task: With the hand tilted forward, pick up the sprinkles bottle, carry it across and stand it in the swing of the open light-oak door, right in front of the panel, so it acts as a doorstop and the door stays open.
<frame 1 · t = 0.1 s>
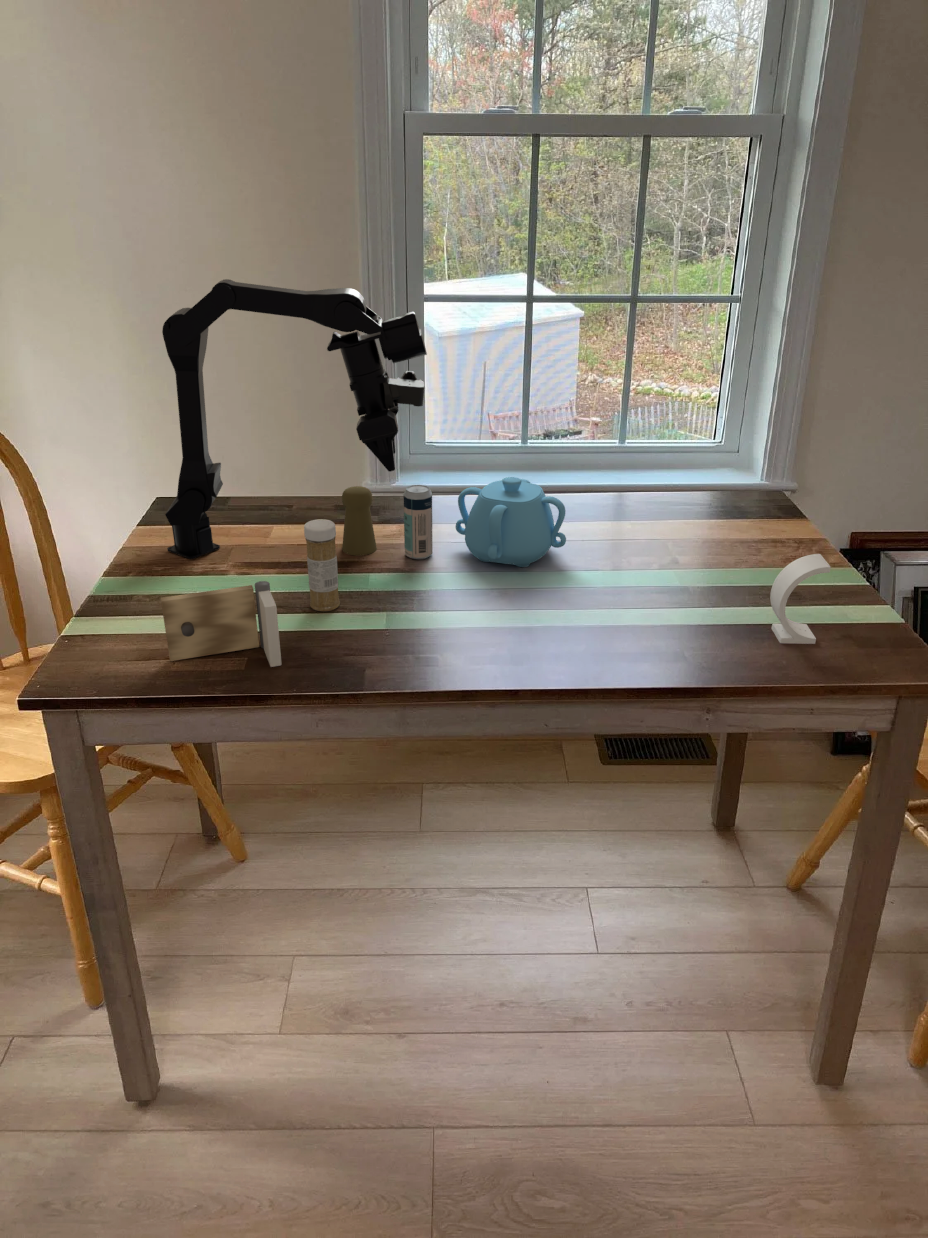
hand: (392, 462, 158), 15 cm above the table, tool pointing down, fingers open, 9 cm apart
door: (211, 624, 128), point 5 cm above the table, hinge at 90.0°
beer can: (418, 556, 162), on the table
door frame: (268, 645, 133), on the table
sprinkles bottle: (324, 607, 144), on the table
decorative pot: (509, 555, 163), on the table
headphone stand: (789, 637, 137), on the table
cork: (359, 549, 164), on the table
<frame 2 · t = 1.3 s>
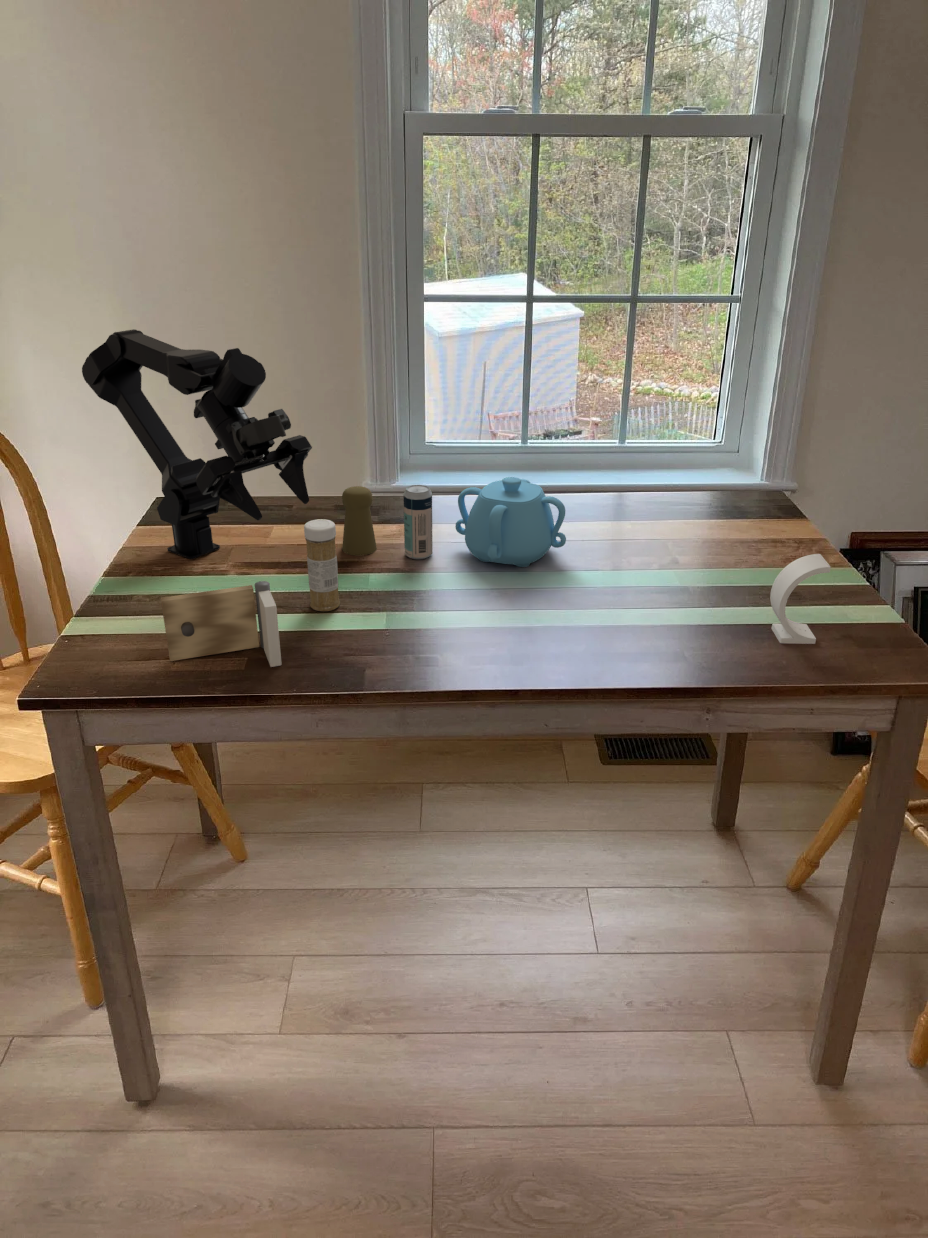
hand: (284, 510, 143), 13 cm above the table, tool tilted 45°, fingers open, 9 cm apart
nothing on the table moved.
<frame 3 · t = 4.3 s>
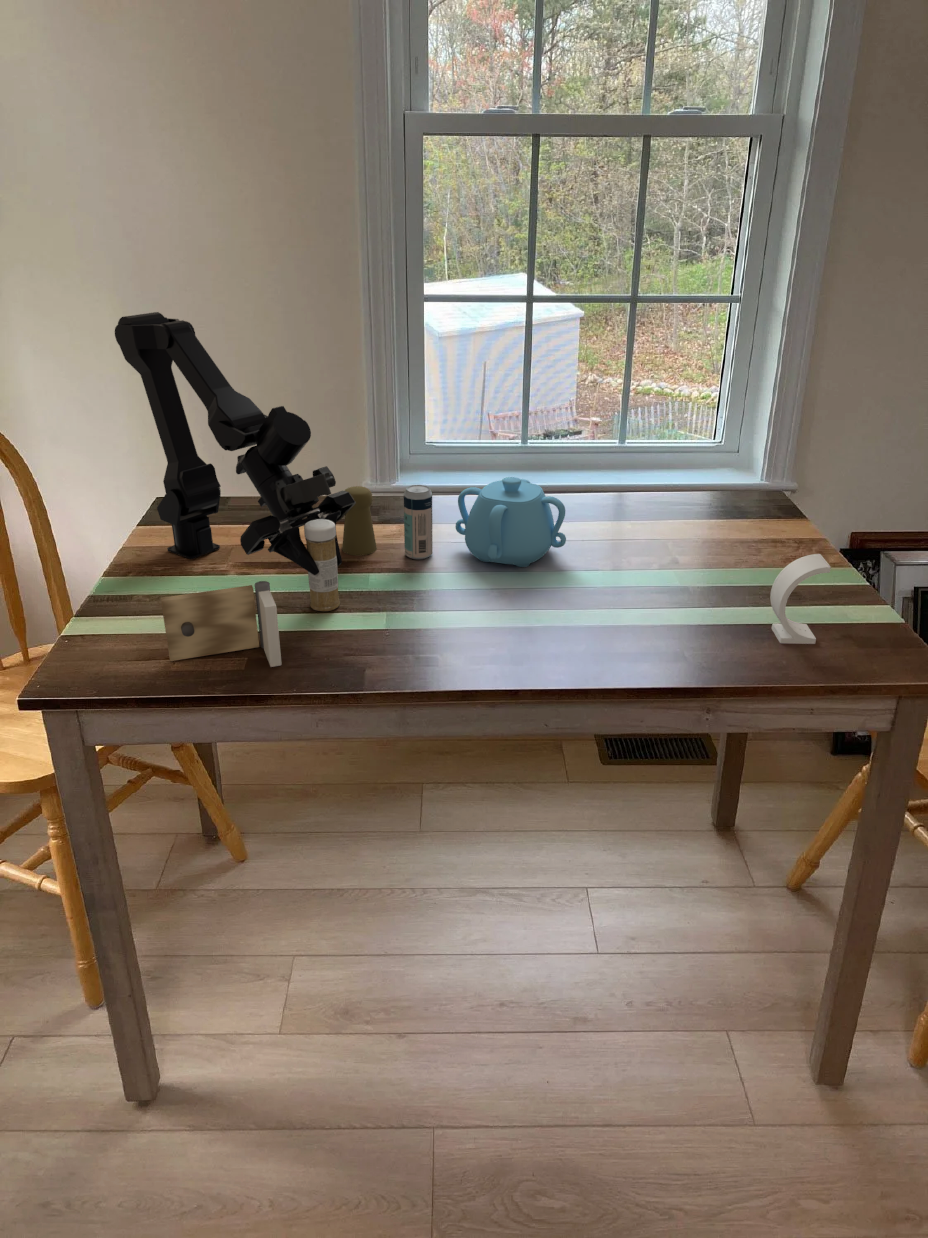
hand: (328, 569, 140), 7 cm above the table, tool tilted 45°, fingers closed on sprinkles bottle, 4 cm apart
sprinkles bottle: (324, 607, 144), on the table, touching gripper
everything else where it was.
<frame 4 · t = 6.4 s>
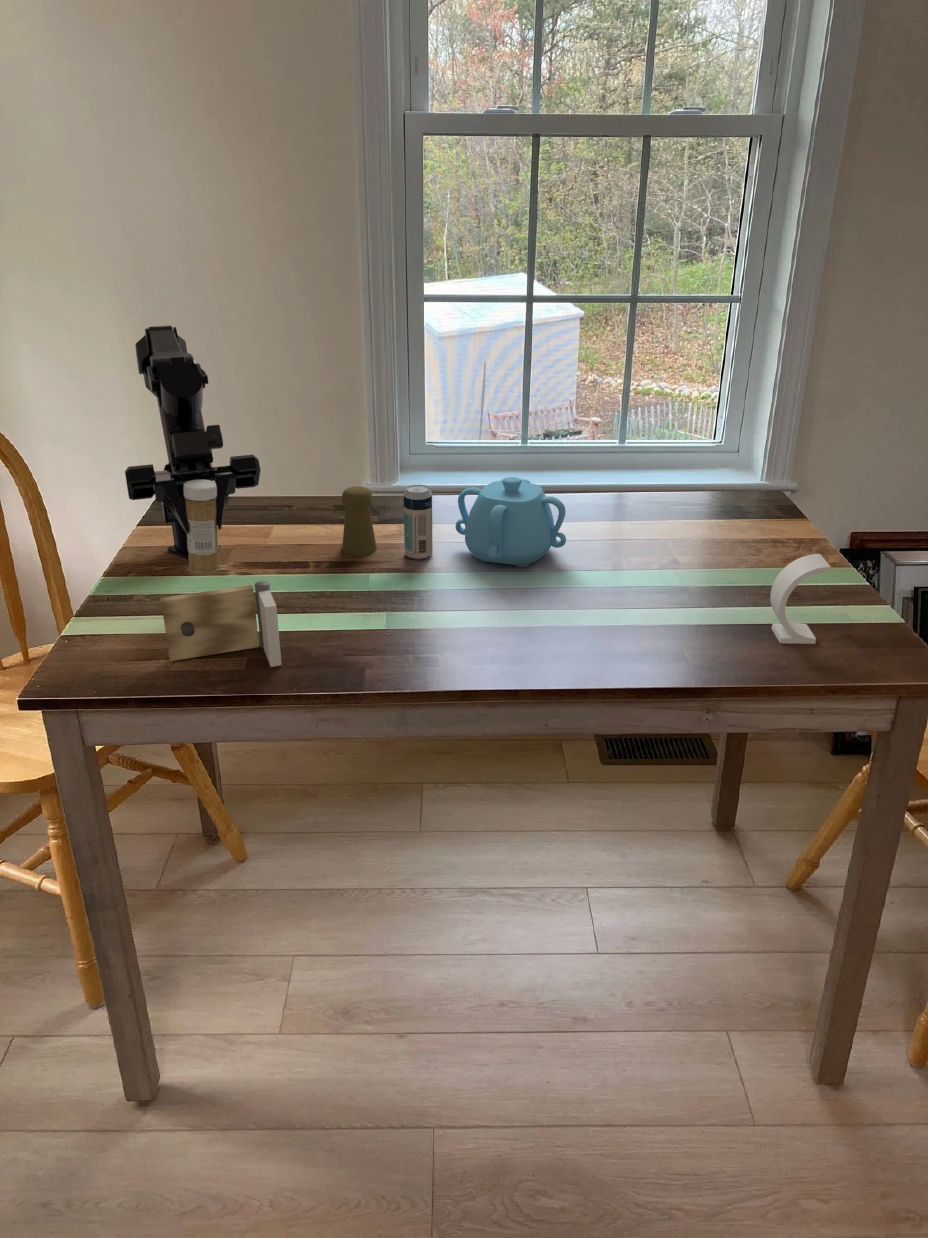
hand: (203, 530, 136), 13 cm above the table, tool tilted 45°, fingers closed on sprinkles bottle, 4 cm apart
sprinkles bottle: (203, 571, 140), point 6 cm above the table, touching gripper
everything else where it was.
when the fingers open (7 cm above the table, at t = 8.8 s): sprinkles bottle stays where it is, on the table.
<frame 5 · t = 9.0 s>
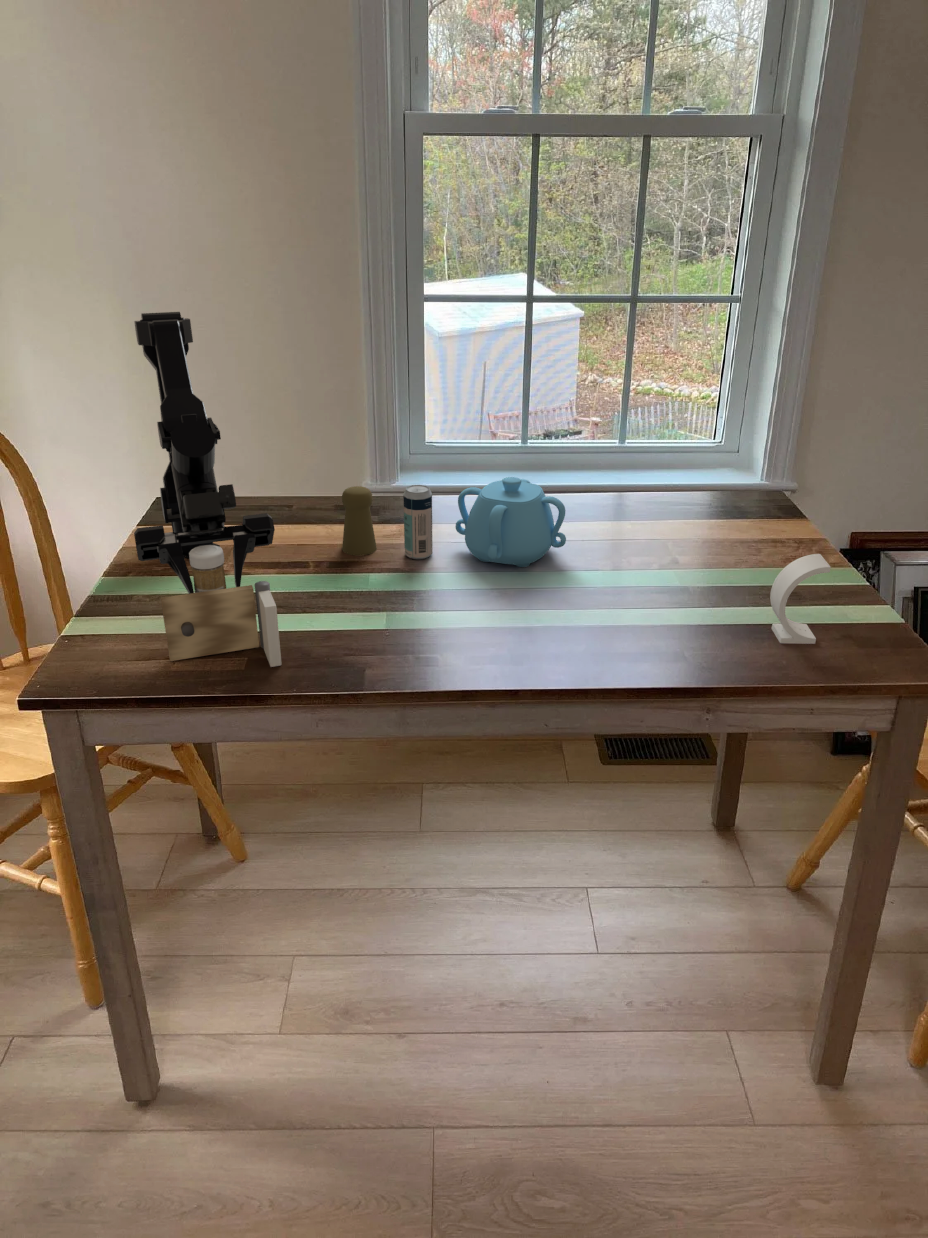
hand: (215, 593, 130), 7 cm above the table, tool tilted 45°, fingers open, 6 cm apart
sprinkles bottle: (216, 638, 135), on the table
everything else where it was.
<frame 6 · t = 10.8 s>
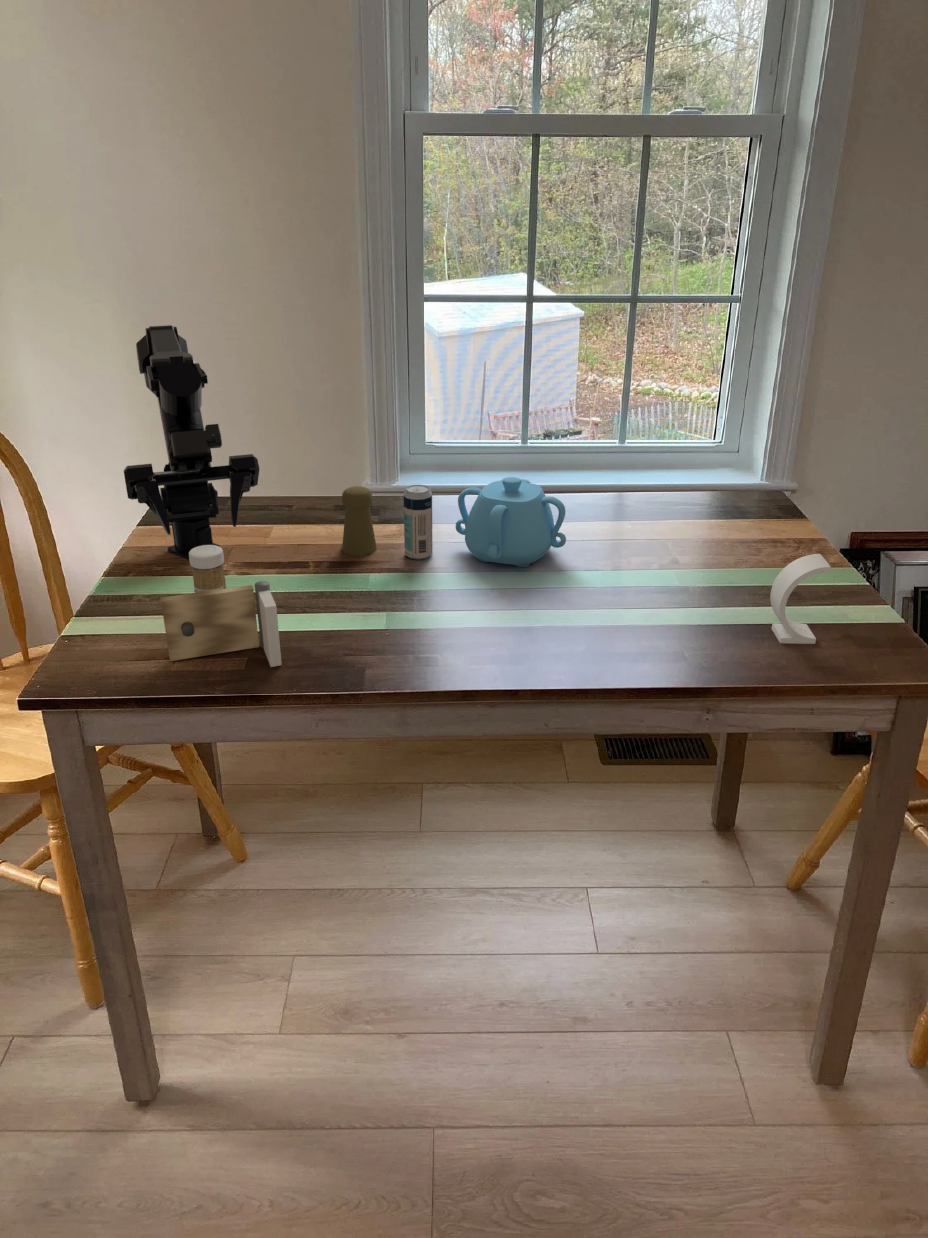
hand: (202, 529, 135), 13 cm above the table, tool tilted 45°, fingers open, 9 cm apart
nothing on the table moved.
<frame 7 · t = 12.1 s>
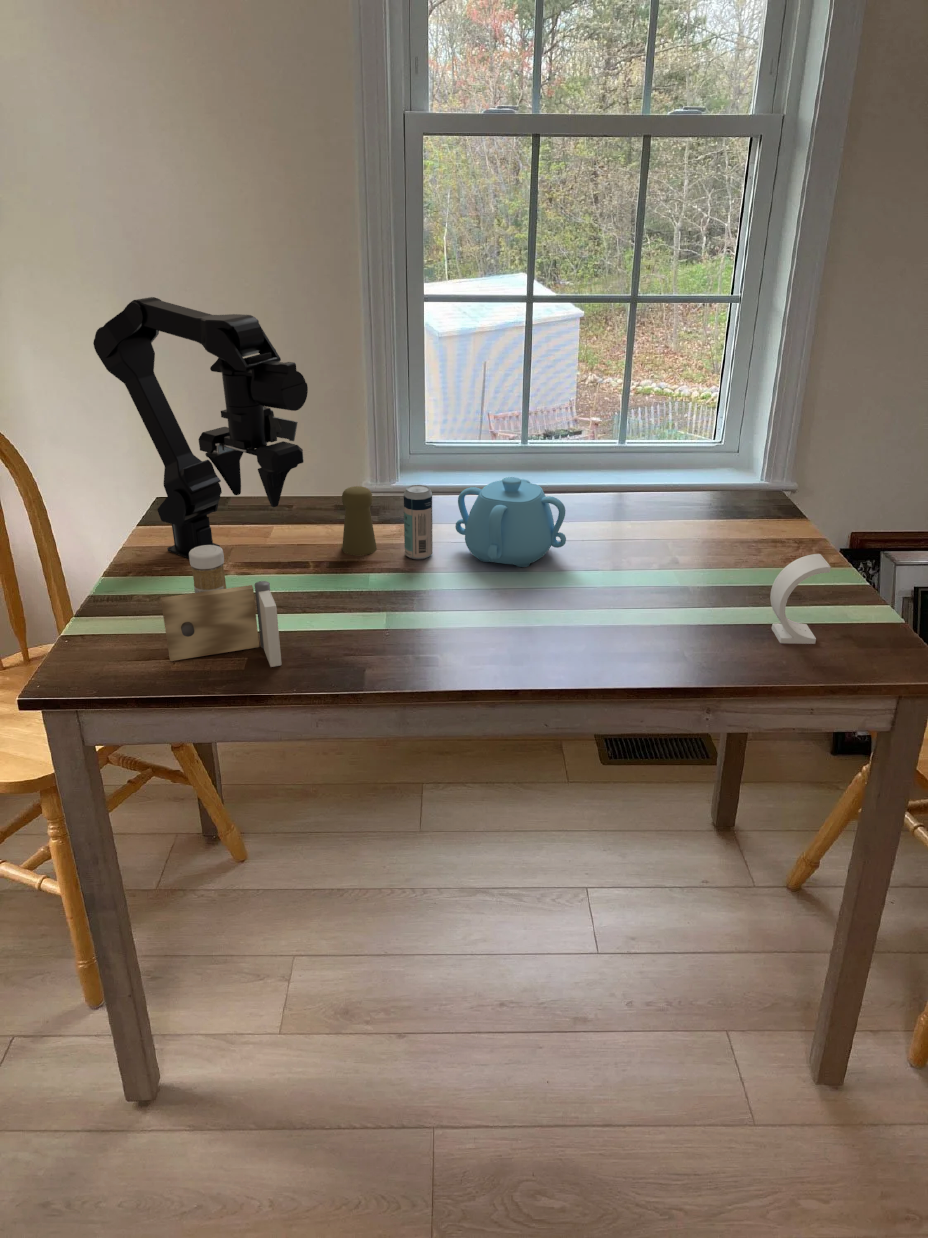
hand: (255, 500, 150), 12 cm above the table, tool pointing down, fingers open, 9 cm apart
nothing on the table moved.
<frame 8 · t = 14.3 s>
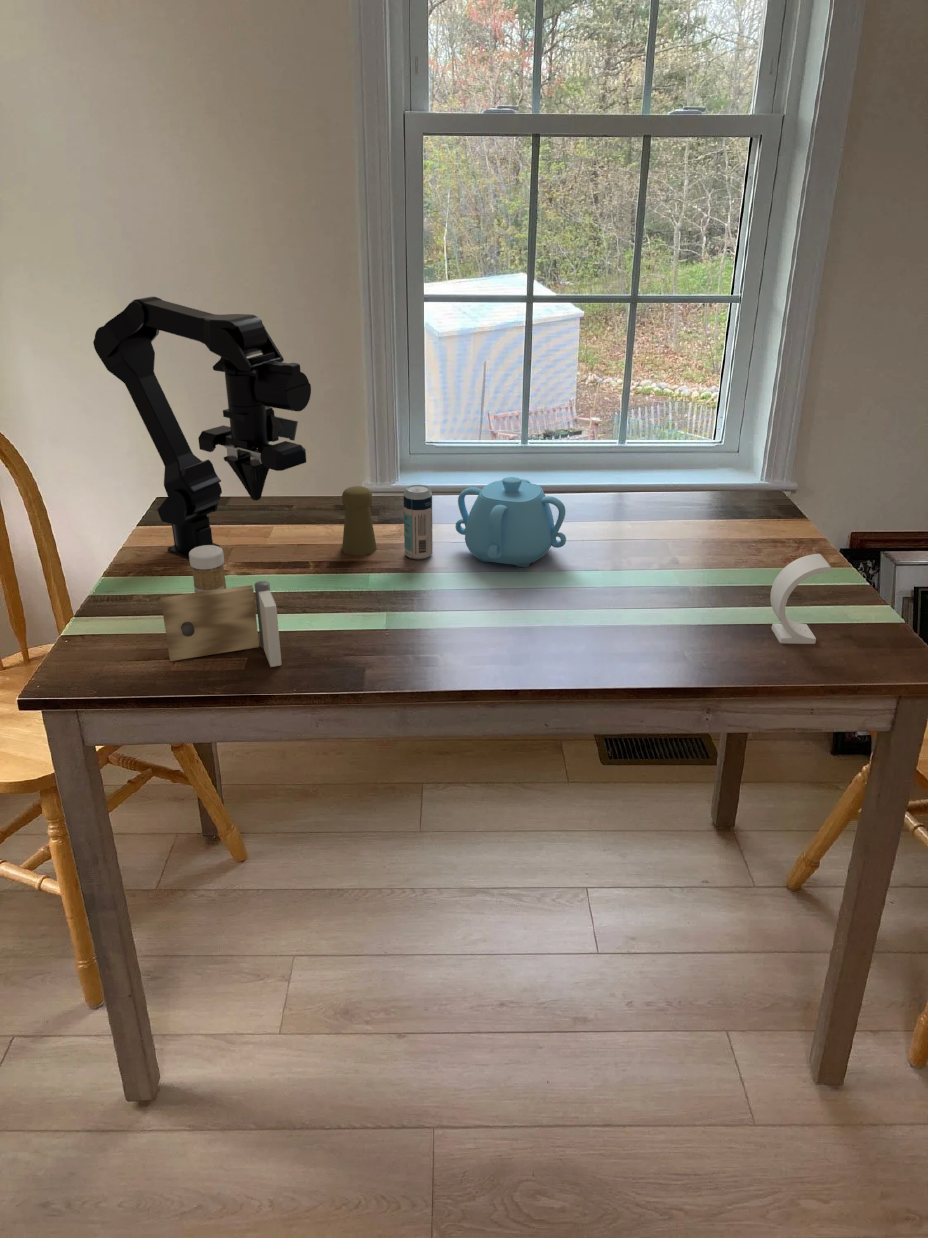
hand: (256, 499, 151), 12 cm above the table, tool pointing down, fingers closed
nothing on the table moved.
at the end: sprinkles bottle inside the target area (0.7 cm from its centre), on the table; sprinkles bottle tilted 0°; door at +90° (first picture: +90°) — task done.
